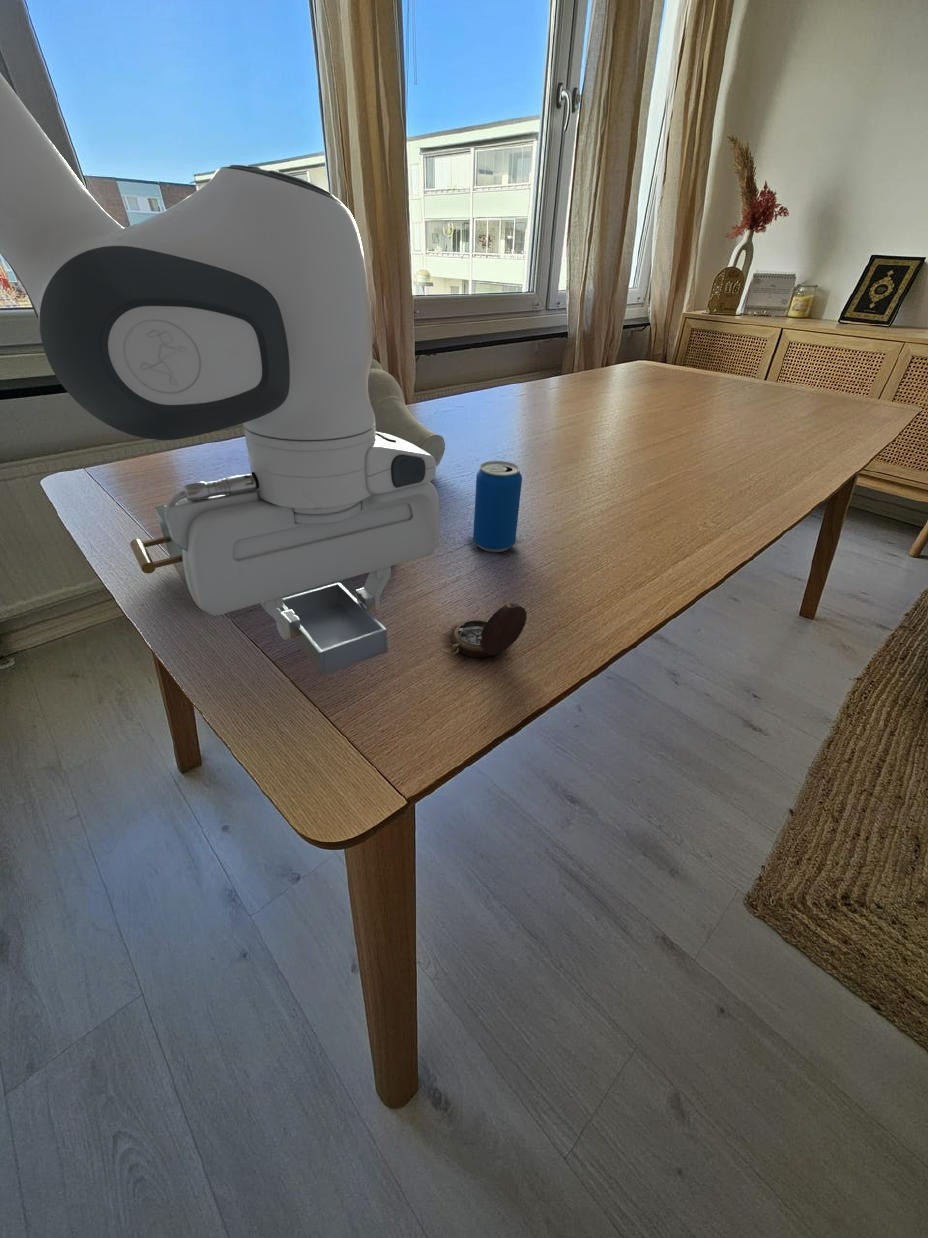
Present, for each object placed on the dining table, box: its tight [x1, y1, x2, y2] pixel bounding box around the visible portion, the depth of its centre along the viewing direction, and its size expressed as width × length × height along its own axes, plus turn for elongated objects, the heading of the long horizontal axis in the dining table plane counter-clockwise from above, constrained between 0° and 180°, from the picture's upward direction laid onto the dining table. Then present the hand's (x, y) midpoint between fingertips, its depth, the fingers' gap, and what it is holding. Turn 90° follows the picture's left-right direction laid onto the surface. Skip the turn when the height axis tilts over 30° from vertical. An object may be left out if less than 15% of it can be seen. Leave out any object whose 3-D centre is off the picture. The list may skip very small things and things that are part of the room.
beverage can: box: [472, 460, 523, 553], centre depth 78 cm, size 6×6×12 cm
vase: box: [368, 358, 446, 468], centre depth 103 cm, size 22×22×28 cm
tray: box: [279, 581, 388, 677], centre depth 47 cm, size 6×9×2 cm, turn 36°
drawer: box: [129, 504, 200, 609], centre depth 68 cm, size 20×13×8 cm
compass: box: [441, 601, 528, 658], centre depth 58 cm, size 8×8×7 cm
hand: (331, 621), depth 46 cm, fingers closed on tray, 6 cm apart
